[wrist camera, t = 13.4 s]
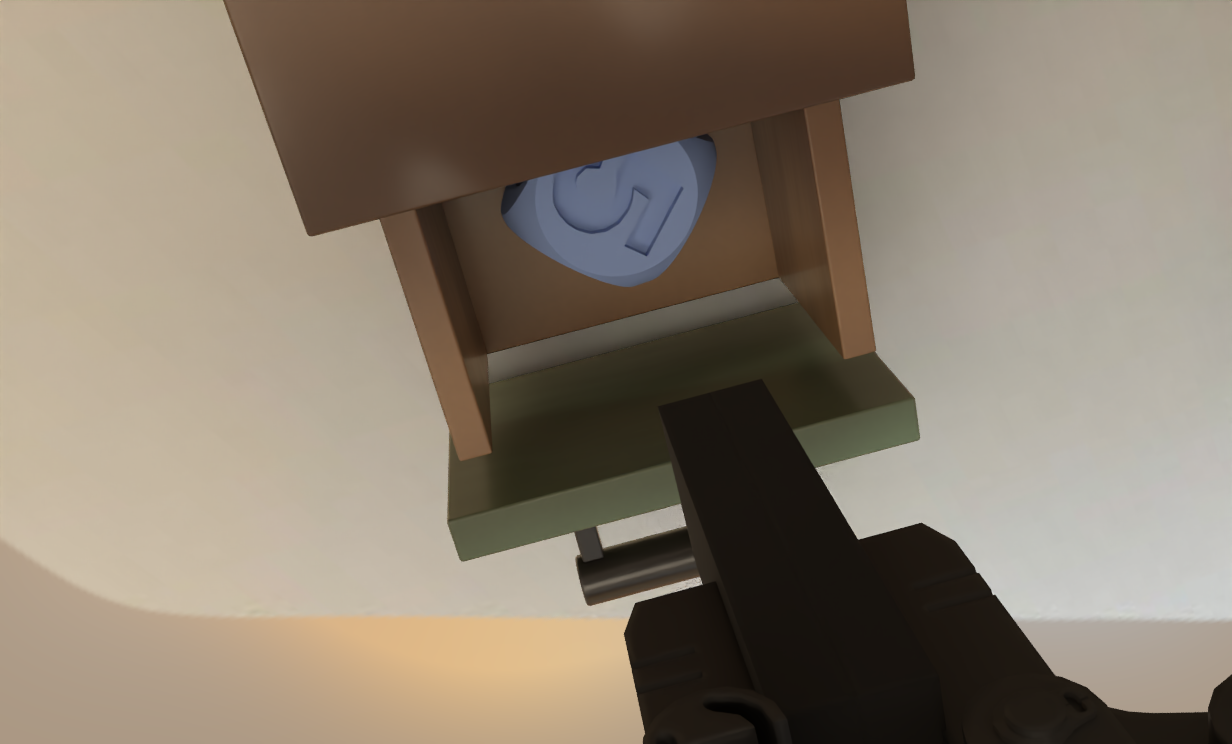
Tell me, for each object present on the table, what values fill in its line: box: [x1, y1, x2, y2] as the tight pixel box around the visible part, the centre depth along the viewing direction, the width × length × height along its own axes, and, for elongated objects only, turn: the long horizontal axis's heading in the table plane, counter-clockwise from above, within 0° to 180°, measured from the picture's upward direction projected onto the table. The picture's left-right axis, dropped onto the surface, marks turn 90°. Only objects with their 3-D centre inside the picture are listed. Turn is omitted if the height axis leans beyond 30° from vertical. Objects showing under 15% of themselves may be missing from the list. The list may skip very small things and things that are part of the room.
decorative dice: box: [501, 134, 717, 287], centre depth 28 cm, size 4×4×4 cm
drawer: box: [380, 100, 920, 606], centre depth 29 cm, size 16×11×7 cm
